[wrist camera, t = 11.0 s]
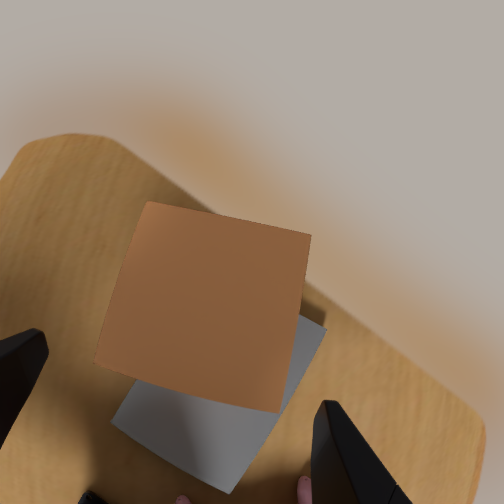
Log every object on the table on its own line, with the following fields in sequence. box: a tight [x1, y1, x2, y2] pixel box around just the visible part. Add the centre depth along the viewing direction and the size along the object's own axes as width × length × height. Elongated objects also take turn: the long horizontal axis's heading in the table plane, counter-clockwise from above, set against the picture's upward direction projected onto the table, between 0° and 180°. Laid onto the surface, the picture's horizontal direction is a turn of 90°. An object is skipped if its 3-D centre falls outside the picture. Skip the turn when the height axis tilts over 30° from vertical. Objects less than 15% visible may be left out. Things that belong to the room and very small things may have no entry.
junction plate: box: [110, 314, 327, 494], centre depth 18 cm, size 13×9×4 cm
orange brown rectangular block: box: [93, 201, 311, 414], centre depth 15 cm, size 6×6×10 cm
